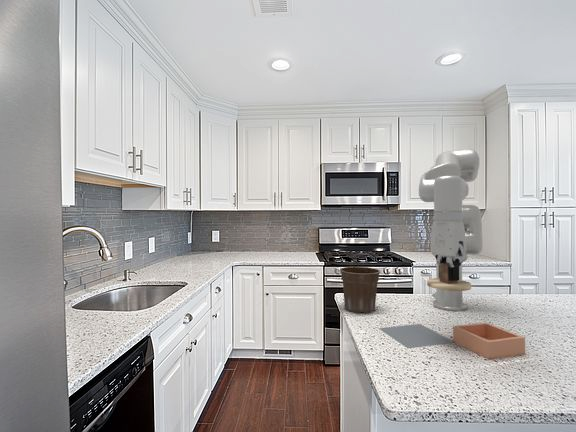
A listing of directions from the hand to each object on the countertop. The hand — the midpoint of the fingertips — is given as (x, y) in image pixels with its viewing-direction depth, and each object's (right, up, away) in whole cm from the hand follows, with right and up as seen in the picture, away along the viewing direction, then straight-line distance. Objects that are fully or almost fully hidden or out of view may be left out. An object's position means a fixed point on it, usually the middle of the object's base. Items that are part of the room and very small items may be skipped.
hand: (448, 278), depth 90 cm
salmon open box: (+8, -19, -5) cm, 21 cm away
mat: (-8, -19, +5) cm, 21 cm away
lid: (0, -2, 0) cm, 2 cm away
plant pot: (-18, -20, +34) cm, 44 cm away
